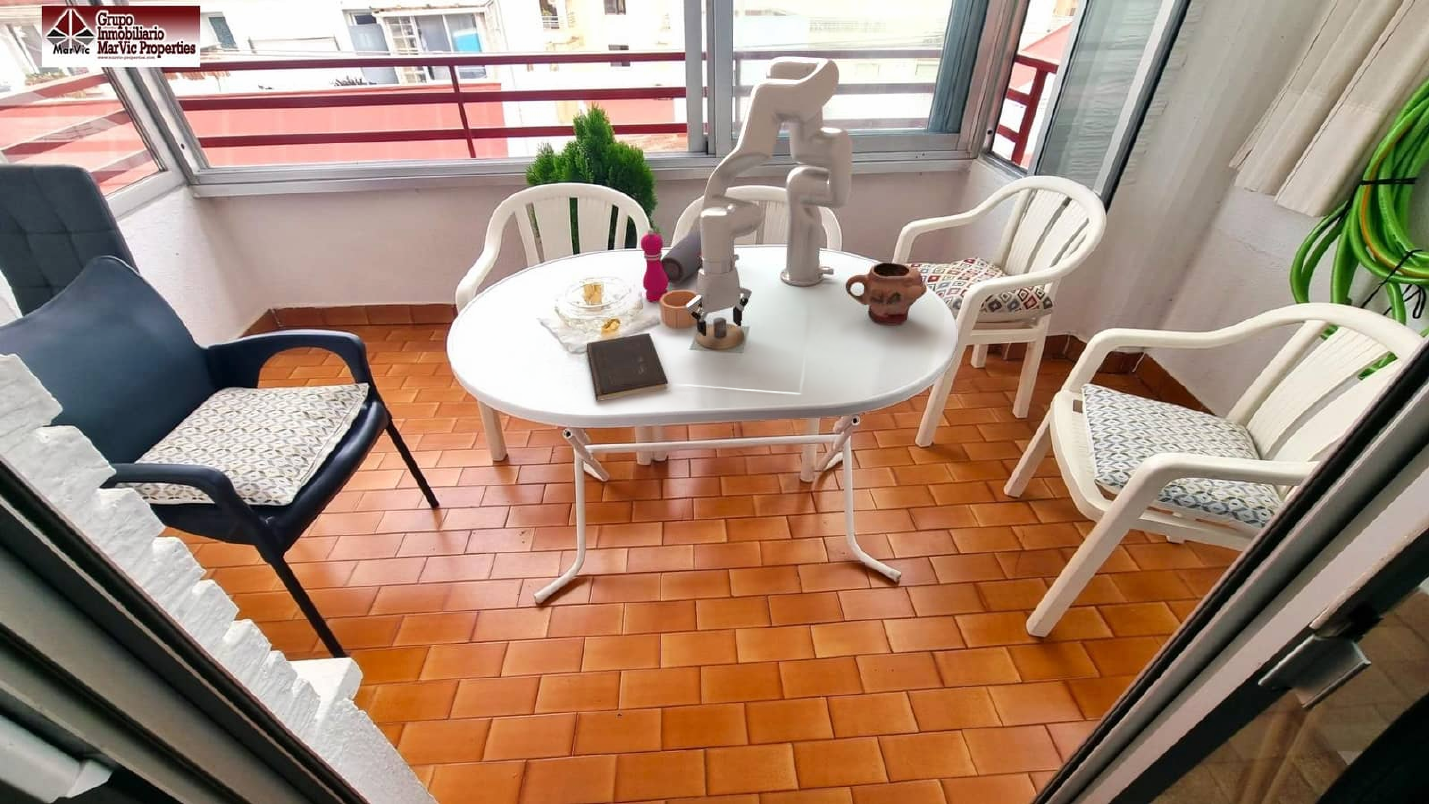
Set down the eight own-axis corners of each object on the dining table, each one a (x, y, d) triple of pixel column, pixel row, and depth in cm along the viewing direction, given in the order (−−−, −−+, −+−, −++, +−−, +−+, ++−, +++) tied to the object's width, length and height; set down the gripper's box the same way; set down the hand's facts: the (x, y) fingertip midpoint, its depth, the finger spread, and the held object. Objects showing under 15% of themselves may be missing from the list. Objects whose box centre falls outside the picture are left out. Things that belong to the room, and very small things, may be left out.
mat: (749, 327, 149) (749, 326, 149) (742, 354, 139) (742, 352, 138) (700, 324, 151) (700, 323, 151) (689, 350, 141) (689, 349, 141)
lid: (747, 327, 148) (747, 310, 146) (740, 351, 139) (740, 333, 136) (701, 324, 150) (700, 308, 147) (692, 348, 141) (690, 331, 138)
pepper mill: (671, 291, 167) (666, 224, 156) (667, 303, 162) (661, 233, 150) (647, 291, 168) (639, 223, 156) (642, 302, 162) (634, 233, 151)
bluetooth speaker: (687, 289, 168) (685, 257, 163) (658, 285, 171) (655, 253, 165) (714, 260, 185) (713, 229, 180) (688, 257, 188) (686, 227, 182)
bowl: (704, 310, 157) (703, 290, 154) (696, 330, 149) (695, 309, 145) (667, 308, 159) (666, 288, 155) (657, 327, 150) (655, 307, 147)
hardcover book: (650, 340, 146) (649, 332, 145) (668, 390, 128) (668, 381, 127) (586, 351, 143) (585, 343, 142) (597, 403, 125) (595, 395, 124)
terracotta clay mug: (846, 330, 146) (852, 279, 138) (838, 308, 156) (844, 259, 148) (925, 328, 146) (936, 277, 138) (913, 306, 156) (922, 257, 147)
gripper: (743, 250, 139) (743, 314, 149) (677, 265, 133) (682, 330, 143) (758, 261, 133) (757, 326, 143) (691, 277, 127) (695, 344, 137)
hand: (720, 328), depth 143 cm, fingers open, 9 cm apart
